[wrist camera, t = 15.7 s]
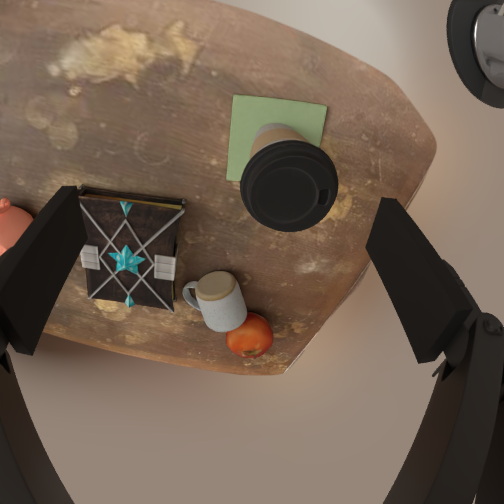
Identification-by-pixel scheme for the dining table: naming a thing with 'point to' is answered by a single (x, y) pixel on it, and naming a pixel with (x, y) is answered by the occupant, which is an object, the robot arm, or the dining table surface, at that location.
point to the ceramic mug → (218, 300)
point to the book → (130, 247)
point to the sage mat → (265, 112)
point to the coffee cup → (287, 180)
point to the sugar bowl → (11, 224)
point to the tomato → (250, 337)
